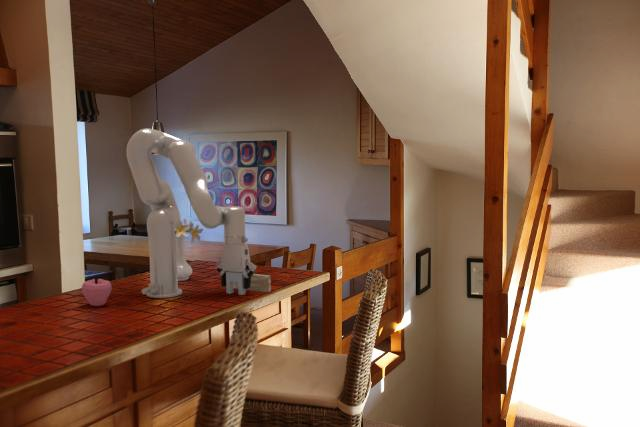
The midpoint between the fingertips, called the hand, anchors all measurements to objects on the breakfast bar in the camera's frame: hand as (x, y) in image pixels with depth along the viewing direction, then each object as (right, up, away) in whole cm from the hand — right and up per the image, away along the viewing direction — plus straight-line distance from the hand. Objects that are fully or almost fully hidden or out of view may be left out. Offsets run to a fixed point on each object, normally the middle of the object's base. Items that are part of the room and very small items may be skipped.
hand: (236, 287), depth 214 cm
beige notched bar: (+4, -2, +6) cm, 7 cm away
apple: (-45, -4, -16) cm, 47 cm away
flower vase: (-25, 0, +26) cm, 36 cm away
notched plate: (0, -2, 0) cm, 2 cm away
